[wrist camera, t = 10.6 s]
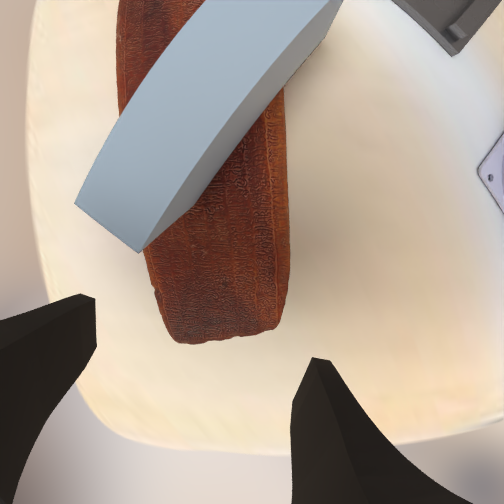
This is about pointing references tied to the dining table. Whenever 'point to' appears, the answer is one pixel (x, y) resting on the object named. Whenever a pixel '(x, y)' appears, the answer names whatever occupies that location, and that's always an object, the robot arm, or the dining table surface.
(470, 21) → the metal plate
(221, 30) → the pale blue upright panel
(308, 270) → the dining table surface
